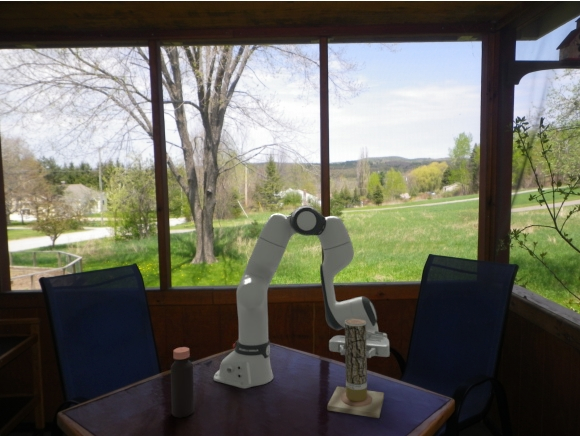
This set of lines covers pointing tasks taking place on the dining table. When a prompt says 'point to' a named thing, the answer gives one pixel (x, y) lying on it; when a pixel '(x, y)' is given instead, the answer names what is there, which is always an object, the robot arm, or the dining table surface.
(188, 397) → the bottle
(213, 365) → the dining table surface
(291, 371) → the dining table surface
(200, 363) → the dining table surface
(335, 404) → the holder board
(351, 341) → the bark print tube
